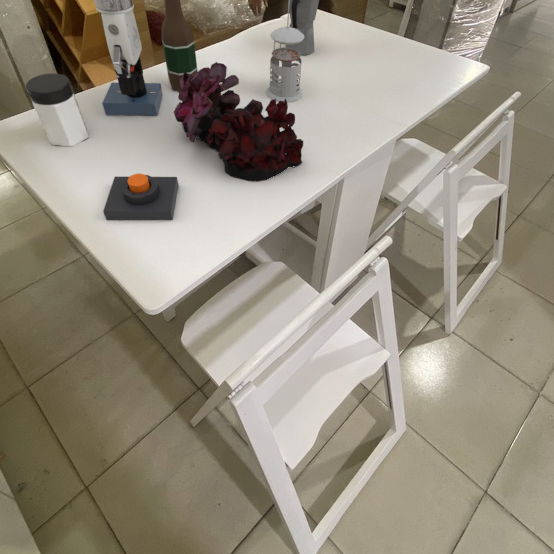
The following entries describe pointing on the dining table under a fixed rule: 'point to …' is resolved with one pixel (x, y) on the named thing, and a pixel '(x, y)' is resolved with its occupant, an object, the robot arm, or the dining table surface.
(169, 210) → the switch block
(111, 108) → the dial base
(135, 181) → the button
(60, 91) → the jar
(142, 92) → the temp dial
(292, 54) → the french press
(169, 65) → the beer bottle
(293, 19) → the coffeepot
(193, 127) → the flower arrangement
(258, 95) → the dining table surface
